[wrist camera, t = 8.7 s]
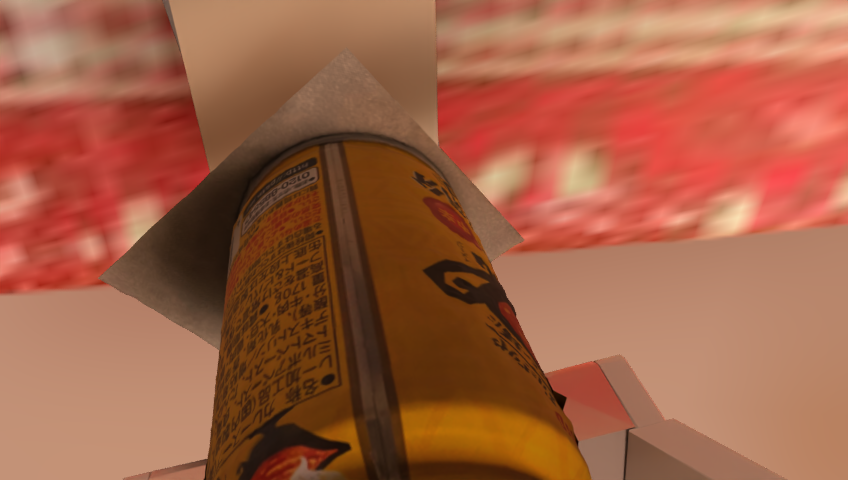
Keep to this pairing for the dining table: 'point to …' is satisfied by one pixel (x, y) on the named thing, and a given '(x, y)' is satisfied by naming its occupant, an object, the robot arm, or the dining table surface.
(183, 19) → the tower block upper
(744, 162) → the dining table surface
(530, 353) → the condiment
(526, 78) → the dining table surface
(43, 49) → the dining table surface
